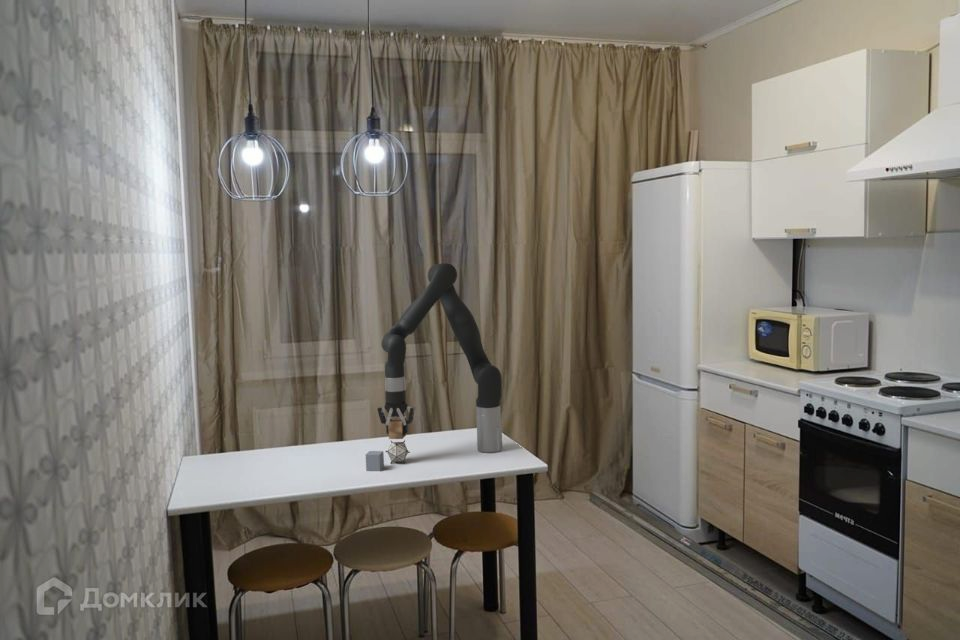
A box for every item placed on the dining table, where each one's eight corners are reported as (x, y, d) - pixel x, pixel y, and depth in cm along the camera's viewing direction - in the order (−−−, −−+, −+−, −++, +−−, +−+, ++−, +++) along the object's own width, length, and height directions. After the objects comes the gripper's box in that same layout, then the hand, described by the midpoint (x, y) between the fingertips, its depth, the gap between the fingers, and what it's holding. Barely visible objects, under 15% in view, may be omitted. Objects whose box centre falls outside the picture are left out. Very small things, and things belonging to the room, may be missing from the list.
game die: (402, 471, 279) (416, 447, 281) (399, 469, 270) (414, 444, 273) (382, 458, 280) (396, 435, 282) (378, 456, 272) (393, 432, 274)
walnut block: (405, 435, 278) (405, 419, 277) (402, 439, 273) (401, 422, 272) (392, 435, 279) (392, 419, 278) (388, 438, 274) (388, 422, 273)
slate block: (384, 467, 271) (383, 451, 270) (379, 471, 266) (379, 454, 265) (370, 467, 272) (369, 450, 271) (366, 471, 267) (365, 454, 266)
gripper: (417, 386, 277) (418, 432, 278) (379, 387, 279) (381, 432, 281) (411, 390, 269) (413, 437, 271) (373, 390, 272) (375, 437, 273)
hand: (397, 434), depth 276 cm, fingers closed on walnut block, 5 cm apart
